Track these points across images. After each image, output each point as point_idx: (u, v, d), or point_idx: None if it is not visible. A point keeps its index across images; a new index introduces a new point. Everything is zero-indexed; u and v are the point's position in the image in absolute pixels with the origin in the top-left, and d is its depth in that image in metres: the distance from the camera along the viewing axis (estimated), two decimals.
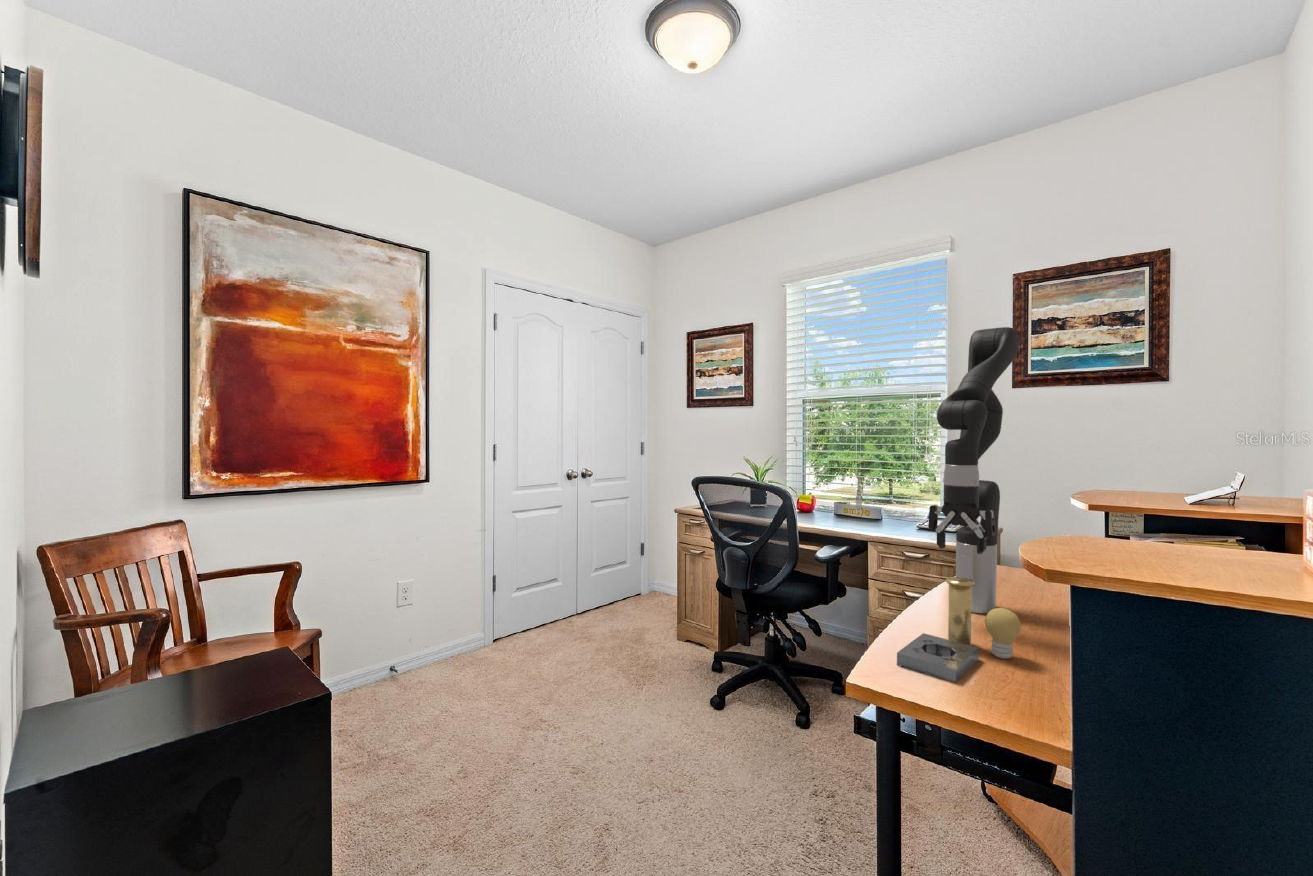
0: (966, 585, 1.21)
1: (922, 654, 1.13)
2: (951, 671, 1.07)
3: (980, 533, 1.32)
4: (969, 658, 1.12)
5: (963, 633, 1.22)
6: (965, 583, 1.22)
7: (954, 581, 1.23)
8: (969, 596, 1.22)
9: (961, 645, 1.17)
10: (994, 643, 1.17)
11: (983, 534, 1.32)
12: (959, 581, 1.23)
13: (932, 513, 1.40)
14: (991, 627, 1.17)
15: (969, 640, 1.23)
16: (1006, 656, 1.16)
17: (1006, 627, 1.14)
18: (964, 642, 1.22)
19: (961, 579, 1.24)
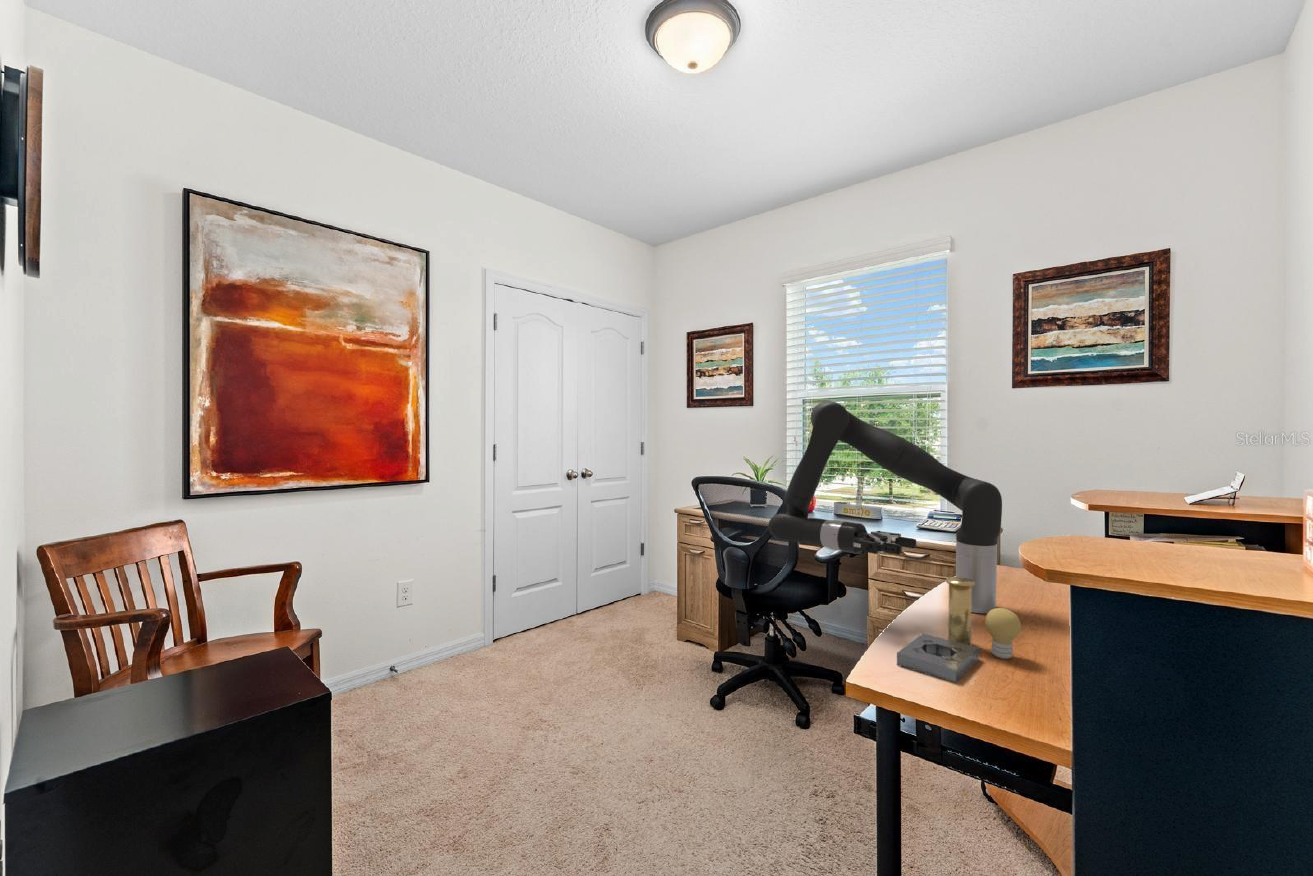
0: (966, 585, 1.21)
1: (922, 654, 1.13)
2: (951, 671, 1.07)
3: None
4: (969, 658, 1.12)
5: (963, 633, 1.22)
6: (965, 583, 1.22)
7: (954, 581, 1.23)
8: (969, 596, 1.22)
9: (961, 645, 1.17)
10: (994, 643, 1.17)
11: (878, 551, 1.31)
12: (959, 581, 1.23)
13: None
14: (991, 627, 1.17)
15: (969, 640, 1.23)
16: (1006, 656, 1.16)
17: (1006, 627, 1.14)
18: (964, 642, 1.22)
19: (961, 579, 1.24)
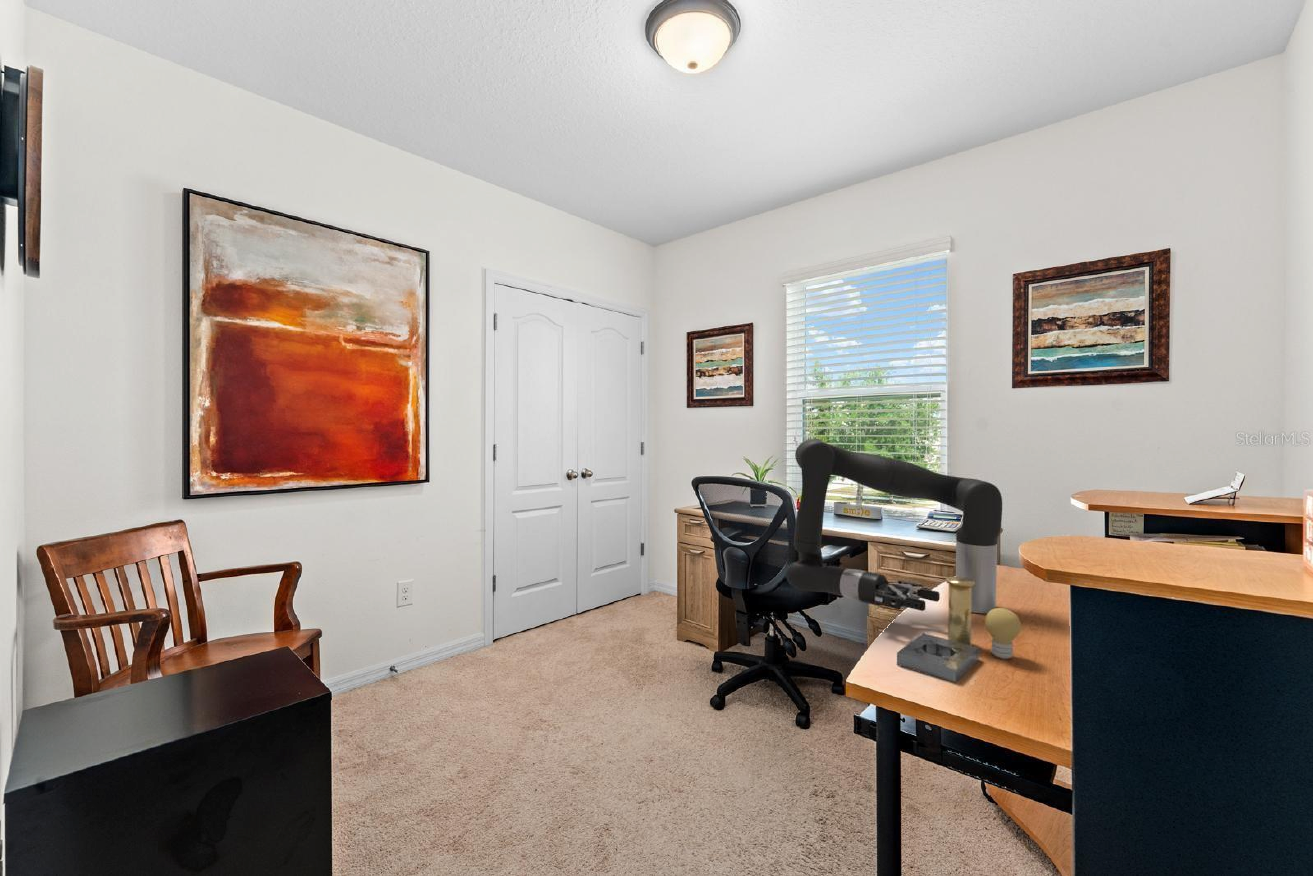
0: (966, 585, 1.21)
1: (922, 654, 1.13)
2: (951, 671, 1.07)
3: None
4: (969, 658, 1.12)
5: (963, 632, 1.22)
6: (965, 583, 1.22)
7: (954, 581, 1.23)
8: (969, 596, 1.22)
9: (961, 645, 1.17)
10: (994, 643, 1.17)
11: None
12: (959, 581, 1.23)
13: None
14: (991, 627, 1.17)
15: (969, 640, 1.23)
16: (1006, 656, 1.16)
17: (1006, 627, 1.14)
18: (964, 642, 1.22)
19: (961, 579, 1.25)
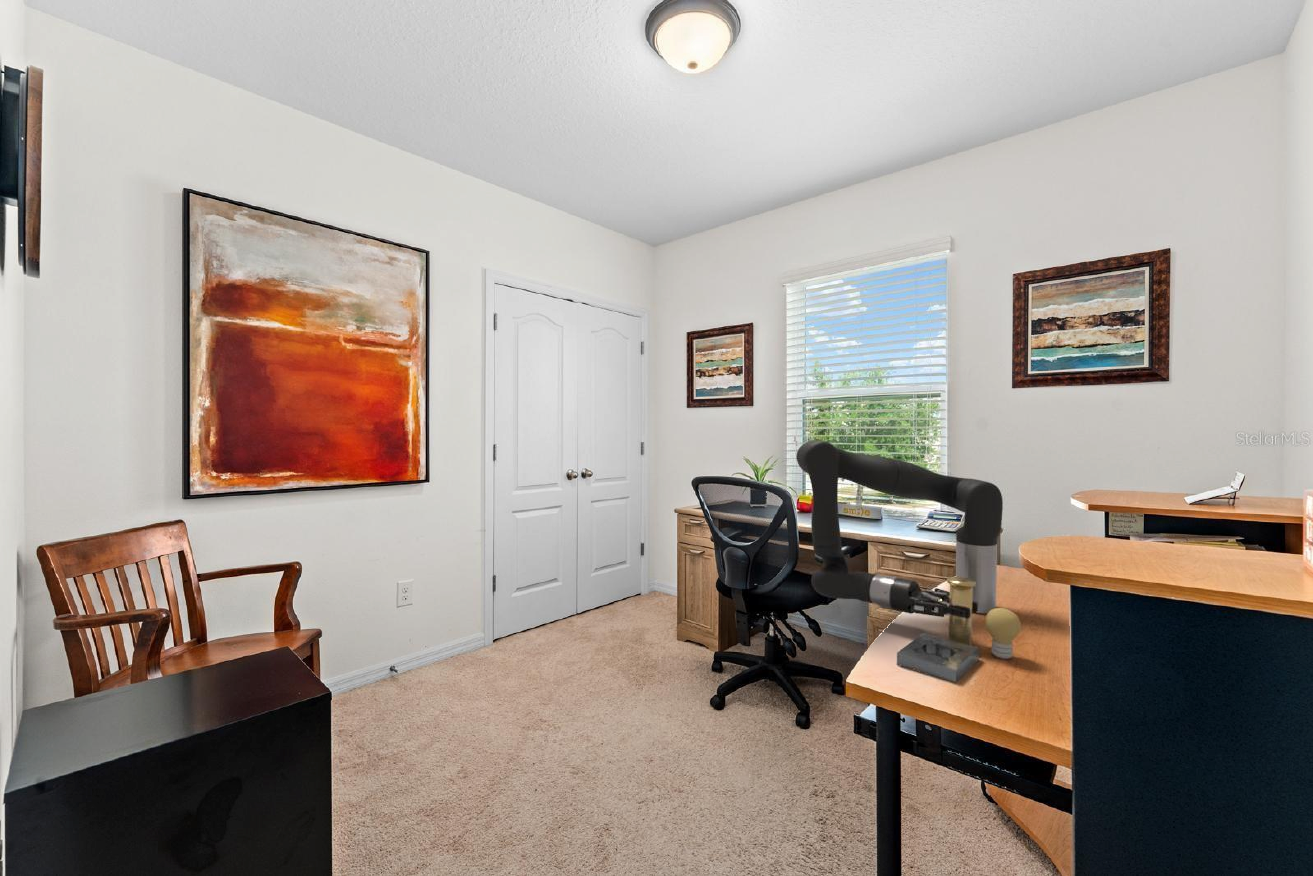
0: (967, 585, 1.21)
1: (922, 654, 1.13)
2: (951, 671, 1.07)
3: None
4: (969, 658, 1.12)
5: (964, 633, 1.22)
6: (966, 583, 1.22)
7: (955, 581, 1.23)
8: (970, 596, 1.22)
9: (961, 645, 1.17)
10: (994, 643, 1.17)
11: (944, 613, 1.23)
12: (960, 581, 1.23)
13: None
14: (991, 627, 1.17)
15: (969, 640, 1.23)
16: (1006, 656, 1.16)
17: (1006, 627, 1.14)
18: (964, 642, 1.22)
19: (962, 579, 1.24)
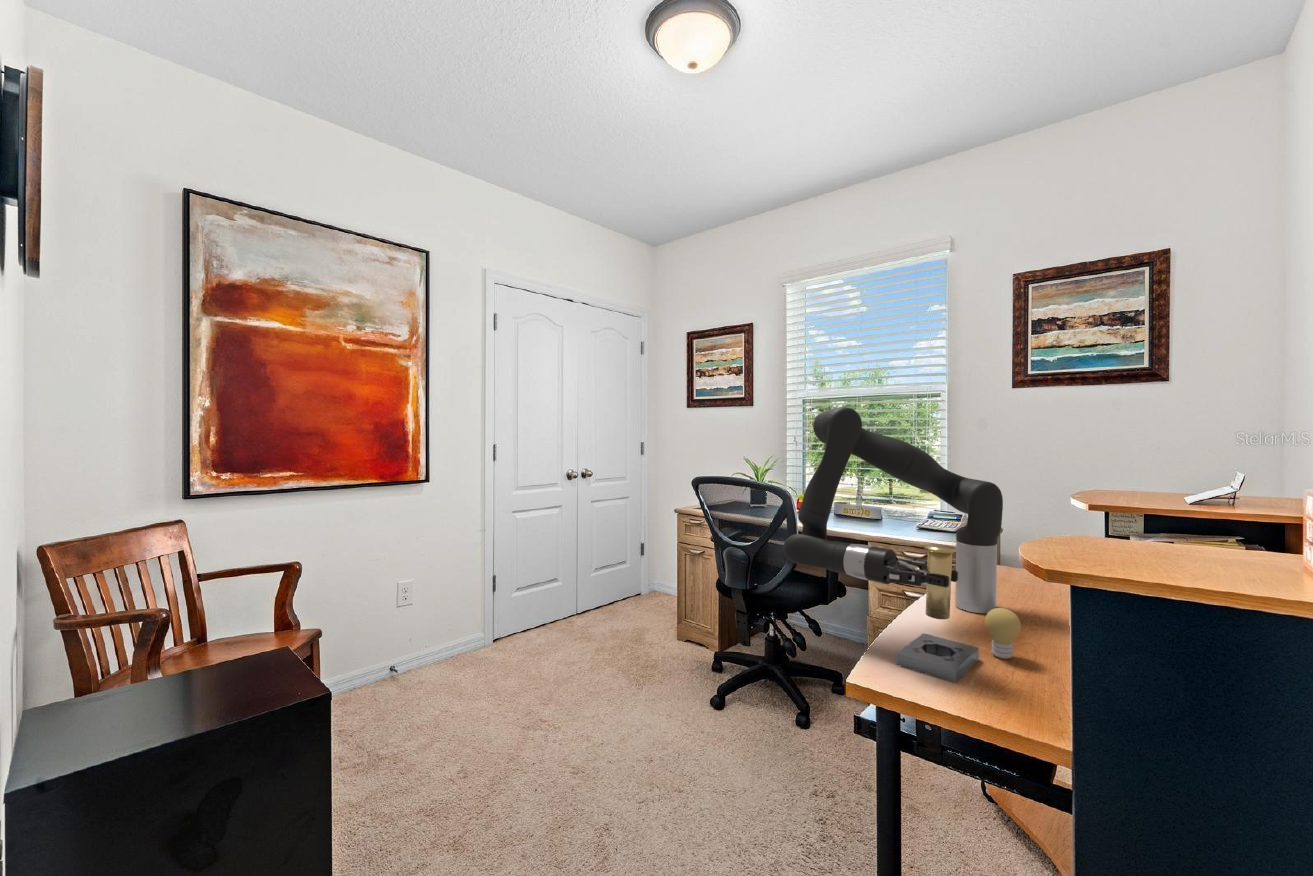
0: (946, 552, 1.11)
1: (922, 654, 1.13)
2: (951, 671, 1.07)
3: None
4: (969, 658, 1.12)
5: (942, 603, 1.13)
6: (945, 549, 1.12)
7: (933, 548, 1.13)
8: (949, 564, 1.12)
9: (961, 645, 1.17)
10: (994, 643, 1.17)
11: (921, 582, 1.13)
12: (939, 548, 1.13)
13: None
14: (991, 627, 1.17)
15: (948, 611, 1.13)
16: (1006, 656, 1.16)
17: (1006, 627, 1.14)
18: (942, 613, 1.13)
19: (941, 546, 1.15)
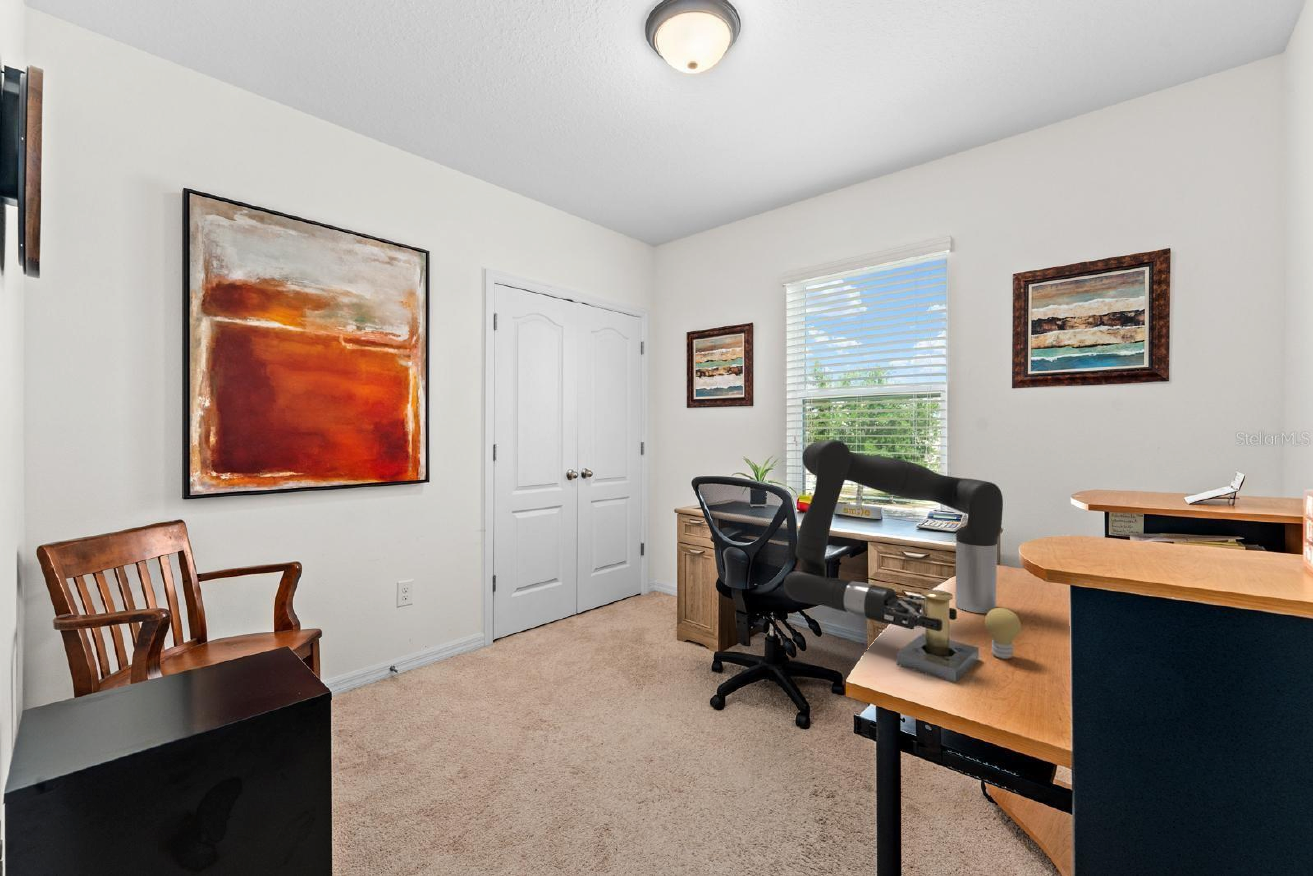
0: (943, 599, 1.12)
1: (922, 654, 1.13)
2: (951, 671, 1.07)
3: None
4: (969, 658, 1.12)
5: (941, 650, 1.13)
6: (942, 596, 1.13)
7: (930, 594, 1.14)
8: (947, 610, 1.13)
9: (961, 645, 1.17)
10: (994, 643, 1.17)
11: (914, 625, 1.13)
12: (936, 594, 1.14)
13: None
14: (991, 627, 1.17)
15: None
16: (1006, 656, 1.16)
17: (1006, 627, 1.14)
18: None
19: (938, 592, 1.16)
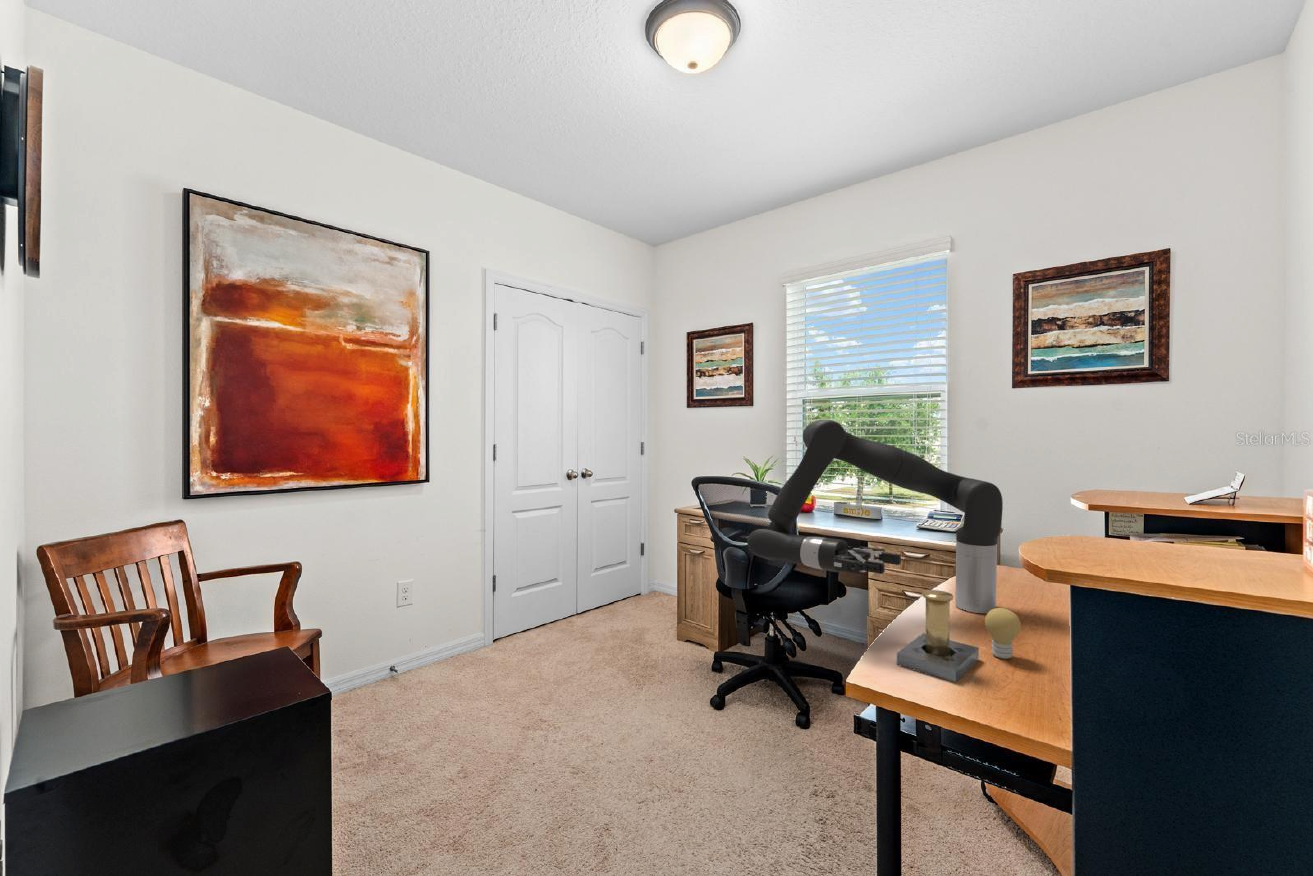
0: (943, 599, 1.12)
1: (922, 654, 1.13)
2: (951, 671, 1.07)
3: None
4: (969, 658, 1.12)
5: (941, 651, 1.13)
6: (942, 597, 1.13)
7: (931, 595, 1.14)
8: (947, 611, 1.13)
9: (961, 645, 1.17)
10: (994, 643, 1.17)
11: None
12: (936, 595, 1.14)
13: None
14: (991, 627, 1.17)
15: None
16: (1006, 656, 1.16)
17: (1006, 627, 1.14)
18: None
19: (939, 593, 1.15)
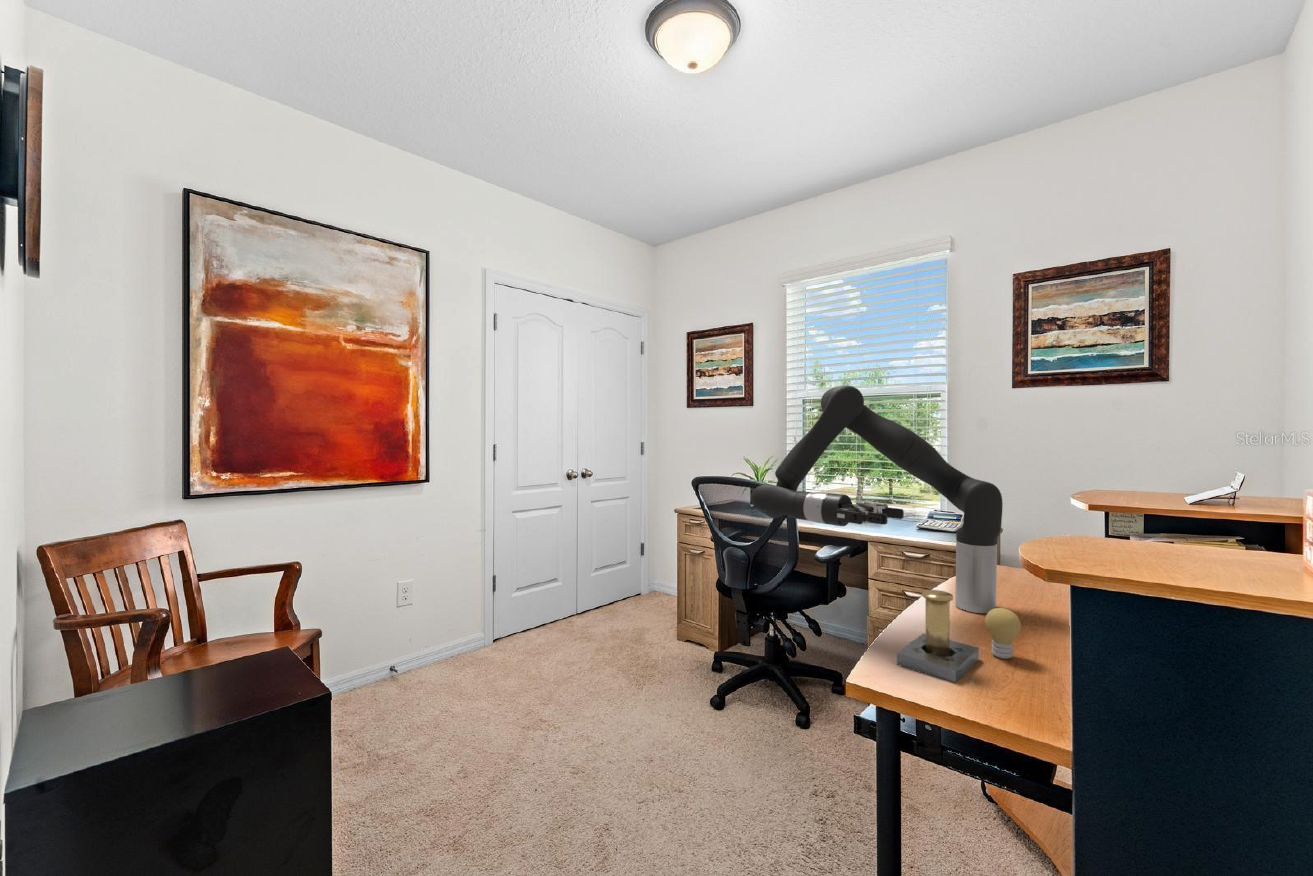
0: (944, 600, 1.12)
1: (922, 654, 1.13)
2: (951, 671, 1.07)
3: None
4: (969, 658, 1.12)
5: (941, 651, 1.13)
6: (942, 597, 1.13)
7: (931, 595, 1.14)
8: (947, 611, 1.13)
9: (961, 645, 1.17)
10: (994, 643, 1.17)
11: (863, 521, 1.24)
12: (936, 595, 1.14)
13: None
14: (991, 627, 1.17)
15: None
16: (1006, 656, 1.16)
17: (1006, 627, 1.14)
18: None
19: (938, 593, 1.15)
